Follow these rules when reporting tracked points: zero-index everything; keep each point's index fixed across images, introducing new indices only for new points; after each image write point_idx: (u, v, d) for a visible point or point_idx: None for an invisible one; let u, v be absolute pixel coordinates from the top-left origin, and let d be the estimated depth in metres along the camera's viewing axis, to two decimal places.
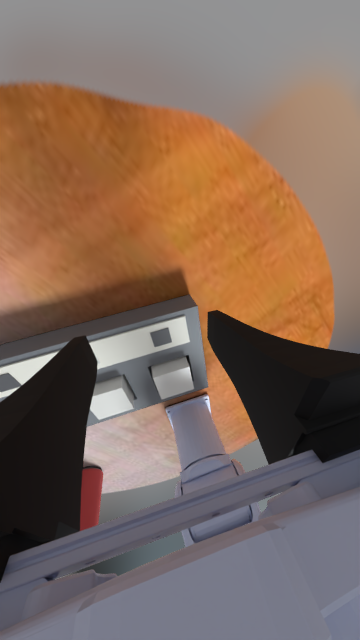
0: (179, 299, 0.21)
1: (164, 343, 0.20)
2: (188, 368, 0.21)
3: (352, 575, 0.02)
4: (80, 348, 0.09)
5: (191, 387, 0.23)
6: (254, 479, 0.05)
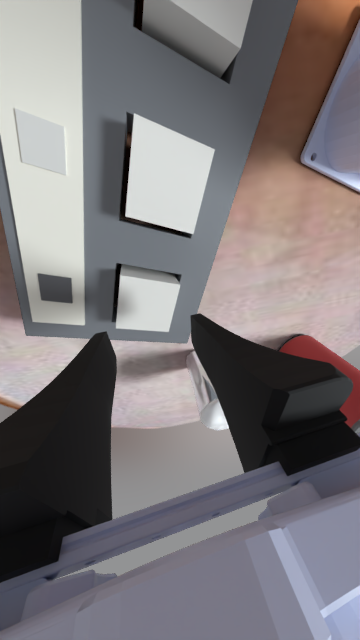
0: None
1: None
2: None
3: (352, 575, 0.02)
4: (103, 344, 0.09)
5: None
6: (254, 480, 0.05)
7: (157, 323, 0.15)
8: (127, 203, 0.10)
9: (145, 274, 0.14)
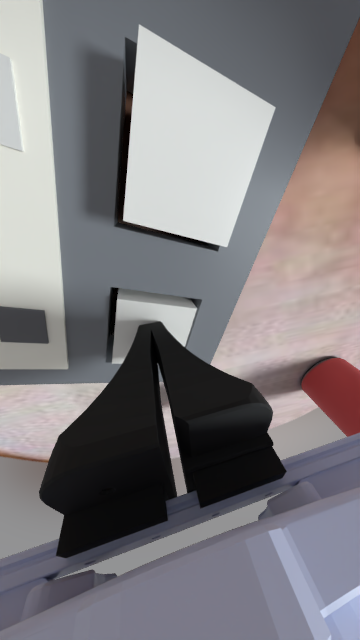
0: None
1: None
2: None
3: (352, 575, 0.02)
4: (151, 334, 0.09)
5: None
6: None
7: None
8: (126, 199, 0.06)
9: (150, 294, 0.11)
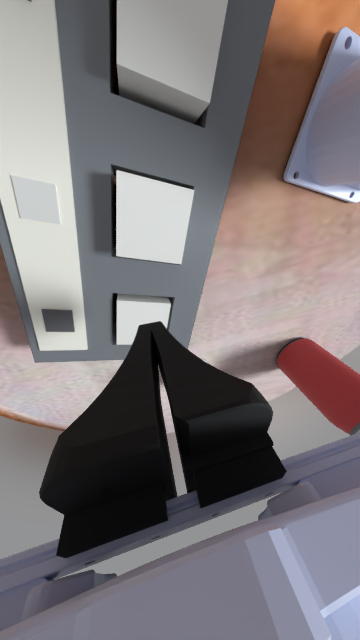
0: None
1: None
2: None
3: (352, 575, 0.02)
4: (151, 334, 0.09)
5: None
6: None
7: None
8: (117, 245, 0.11)
9: (139, 296, 0.16)
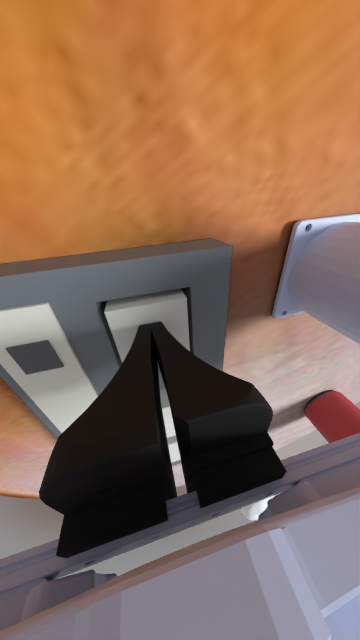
0: None
1: (54, 352, 0.10)
2: (110, 313, 0.09)
3: (352, 575, 0.02)
4: (151, 334, 0.09)
5: (178, 304, 0.10)
6: None
7: None
8: None
9: None
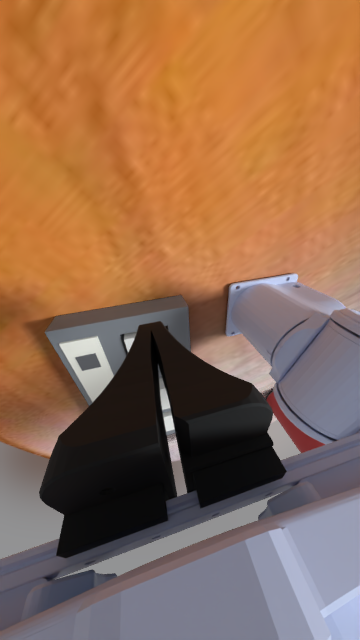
0: None
1: (97, 359, 0.20)
2: (126, 340, 0.19)
3: (352, 575, 0.02)
4: (151, 334, 0.09)
5: None
6: None
7: (172, 427, 0.30)
8: None
9: None
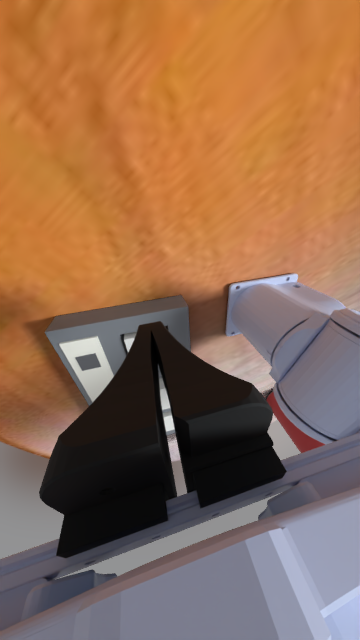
0: None
1: (97, 359, 0.20)
2: (126, 340, 0.19)
3: (352, 575, 0.02)
4: (151, 334, 0.09)
5: None
6: None
7: (172, 427, 0.30)
8: None
9: None
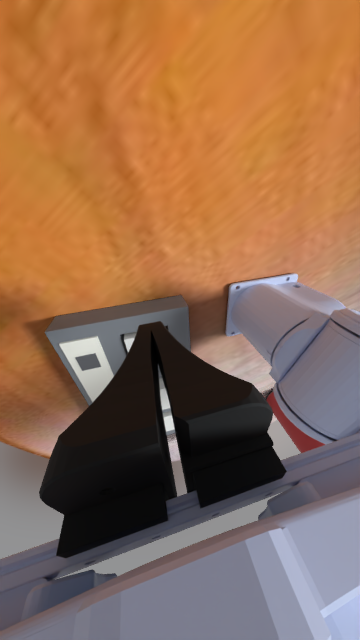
0: None
1: (97, 359, 0.20)
2: (126, 340, 0.19)
3: (352, 575, 0.02)
4: (151, 334, 0.09)
5: None
6: None
7: (172, 427, 0.30)
8: None
9: None
